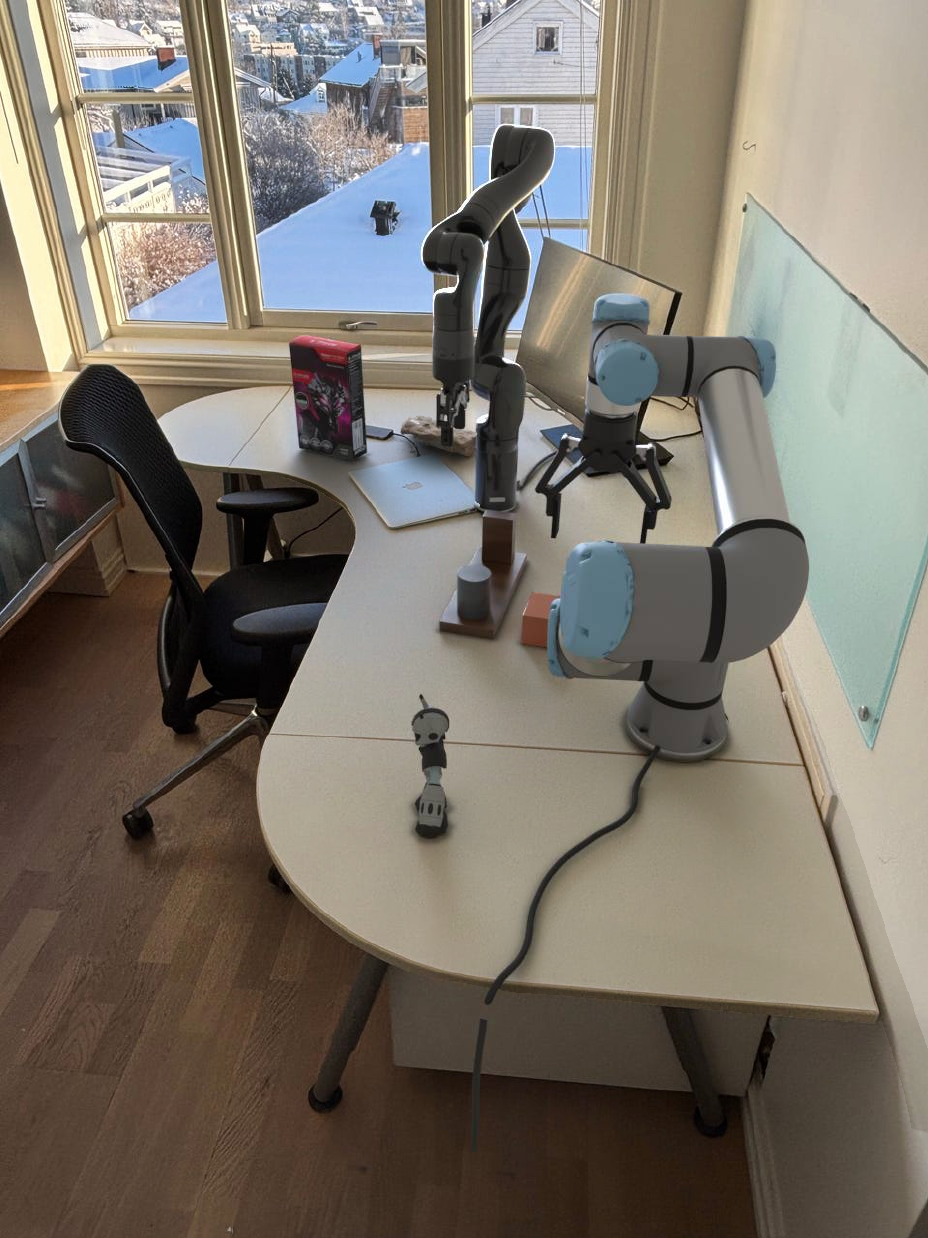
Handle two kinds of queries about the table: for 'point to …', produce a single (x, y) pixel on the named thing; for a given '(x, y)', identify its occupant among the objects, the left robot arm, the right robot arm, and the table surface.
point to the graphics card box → (329, 396)
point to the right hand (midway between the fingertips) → (598, 540)
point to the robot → (431, 769)
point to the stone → (439, 435)
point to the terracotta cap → (537, 619)
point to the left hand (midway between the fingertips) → (453, 436)
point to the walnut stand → (486, 580)
